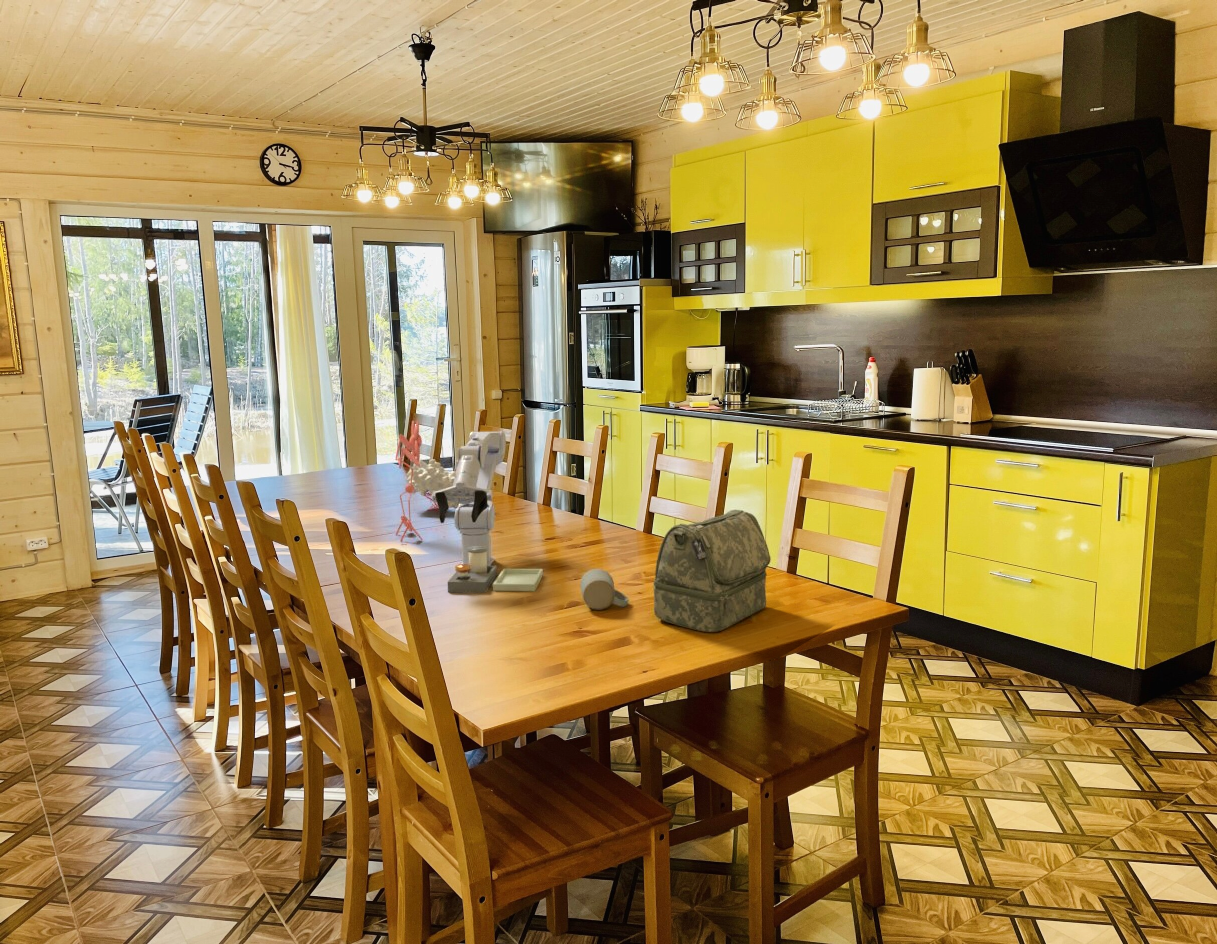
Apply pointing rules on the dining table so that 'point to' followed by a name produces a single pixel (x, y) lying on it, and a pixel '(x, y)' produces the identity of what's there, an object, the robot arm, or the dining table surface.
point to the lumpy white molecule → (431, 480)
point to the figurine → (414, 457)
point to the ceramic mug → (600, 590)
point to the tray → (518, 580)
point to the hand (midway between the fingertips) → (457, 519)
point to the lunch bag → (711, 572)
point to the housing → (473, 581)
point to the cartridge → (478, 559)
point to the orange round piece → (463, 571)
